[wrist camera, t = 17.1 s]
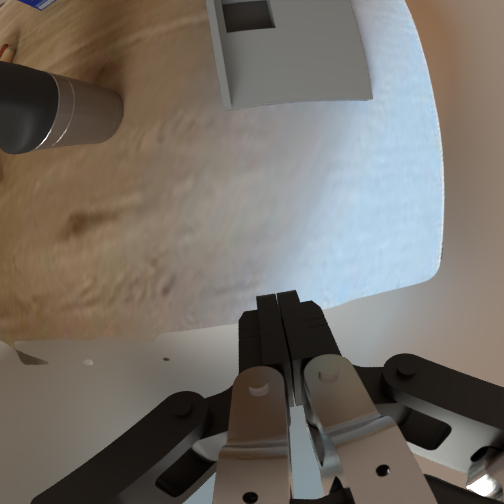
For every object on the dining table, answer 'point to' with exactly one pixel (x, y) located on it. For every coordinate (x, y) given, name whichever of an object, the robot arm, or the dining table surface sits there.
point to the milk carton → (38, 3)
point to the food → (7, 53)
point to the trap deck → (287, 52)
